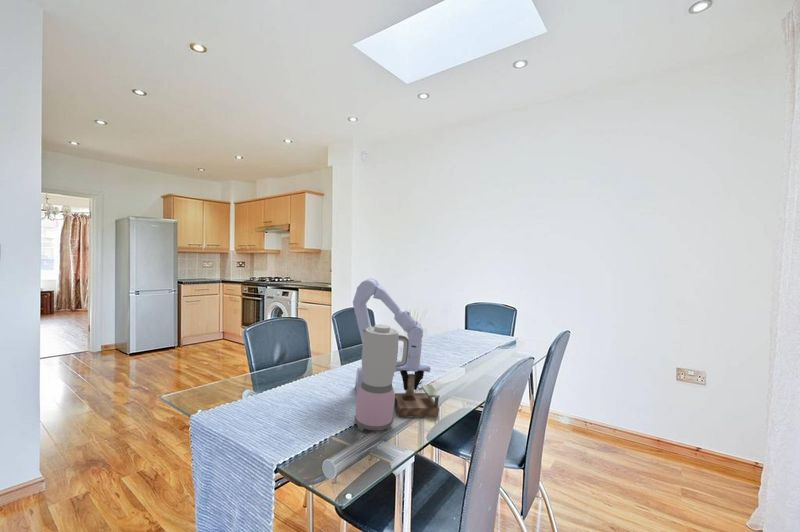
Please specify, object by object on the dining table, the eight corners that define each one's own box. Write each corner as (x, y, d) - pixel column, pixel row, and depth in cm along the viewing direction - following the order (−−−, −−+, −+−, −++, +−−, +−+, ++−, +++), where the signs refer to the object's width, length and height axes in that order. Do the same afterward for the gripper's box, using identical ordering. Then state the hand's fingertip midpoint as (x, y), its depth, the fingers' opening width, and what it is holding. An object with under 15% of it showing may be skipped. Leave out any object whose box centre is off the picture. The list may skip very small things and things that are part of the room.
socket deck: (399, 416, 120) (401, 396, 119) (392, 401, 132) (393, 382, 131) (438, 416, 123) (440, 396, 123) (427, 400, 135) (429, 382, 134)
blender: (357, 435, 106) (366, 330, 104) (351, 415, 118) (359, 321, 116) (406, 431, 111) (416, 331, 109) (396, 413, 122) (404, 322, 120)
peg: (406, 397, 136) (408, 376, 136) (404, 393, 139) (406, 373, 139) (414, 396, 137) (416, 376, 137) (412, 393, 140) (414, 373, 140)
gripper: (397, 358, 132) (394, 393, 133) (434, 358, 135) (430, 393, 136) (393, 352, 139) (390, 386, 139) (428, 353, 142) (425, 386, 143)
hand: (410, 389), depth 138 cm, fingers open, 3 cm apart
